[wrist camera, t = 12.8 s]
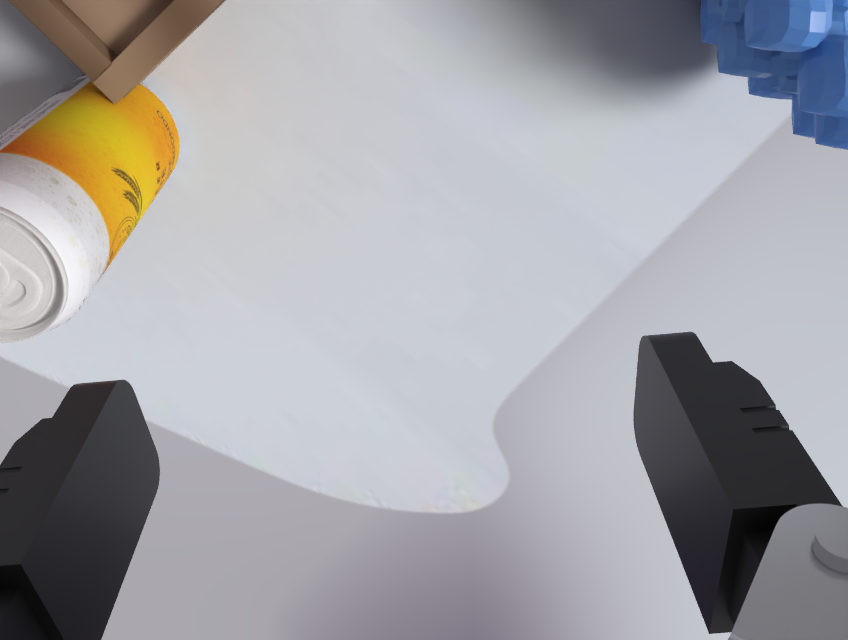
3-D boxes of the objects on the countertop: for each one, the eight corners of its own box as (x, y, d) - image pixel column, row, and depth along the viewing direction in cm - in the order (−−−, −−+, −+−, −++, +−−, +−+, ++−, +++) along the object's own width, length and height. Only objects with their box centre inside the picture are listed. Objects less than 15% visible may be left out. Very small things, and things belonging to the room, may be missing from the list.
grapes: (859, 24, 36) (1044, 93, 26) (739, 124, 38) (865, 224, 28) (725, -181, 31) (886, -195, 21) (598, -52, 34) (689, -10, 24)
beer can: (122, 209, 39) (-5, 379, 27) (30, 115, 37) (-161, 256, 24) (209, 146, 38) (117, 295, 25) (119, 42, 35) (-35, 152, 22)
